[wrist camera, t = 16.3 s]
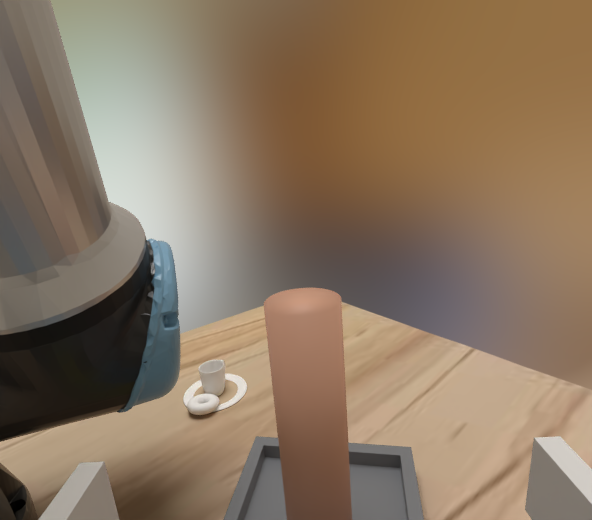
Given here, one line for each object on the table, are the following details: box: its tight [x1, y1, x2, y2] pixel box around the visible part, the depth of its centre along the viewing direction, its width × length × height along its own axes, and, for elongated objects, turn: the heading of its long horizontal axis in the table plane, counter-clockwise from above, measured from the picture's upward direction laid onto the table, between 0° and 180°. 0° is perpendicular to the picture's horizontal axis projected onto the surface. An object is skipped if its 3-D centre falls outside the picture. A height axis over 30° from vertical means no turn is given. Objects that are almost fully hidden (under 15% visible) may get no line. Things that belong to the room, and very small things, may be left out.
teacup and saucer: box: [183, 360, 247, 415], centre depth 44 cm, size 9×8×4 cm
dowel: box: [264, 288, 352, 520], centre depth 22 cm, size 4×4×18 cm
